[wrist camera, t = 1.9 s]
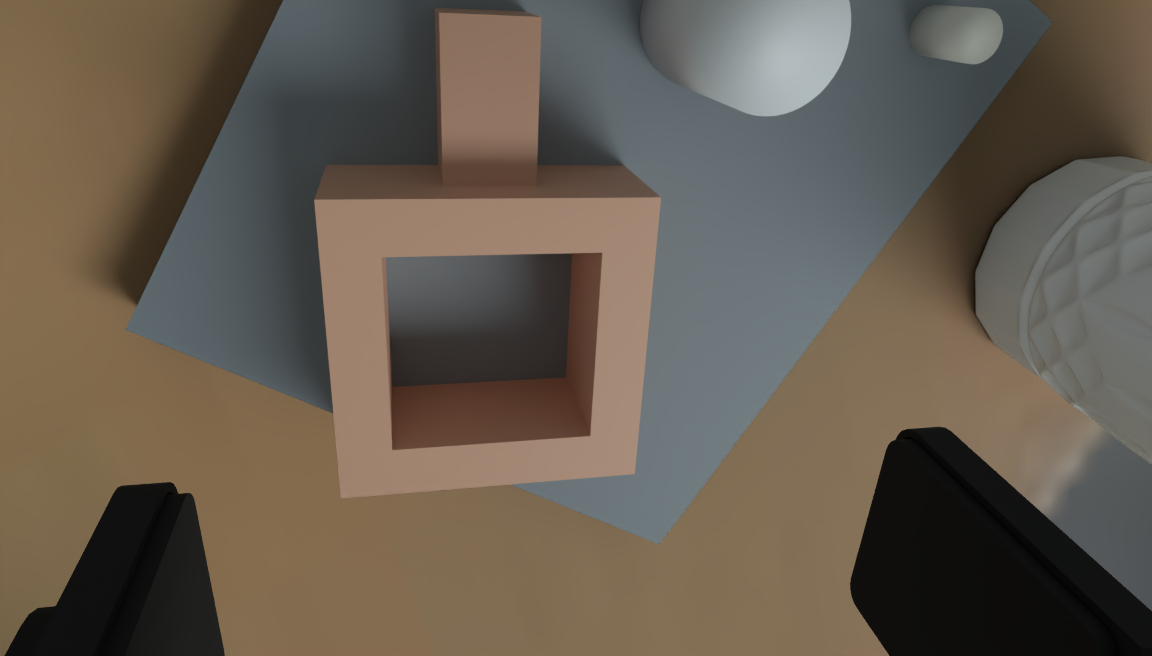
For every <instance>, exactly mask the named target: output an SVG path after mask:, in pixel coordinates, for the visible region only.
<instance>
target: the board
mask: <svg viewBox="0 0 1152 656" xmlns="http://www.w3.org/2000/svg"><path fill="white" fill-rule="evenodd" d="M434 8H451V9H475V10H498V11H521V12H529V13H531V14H534V15H537V16H540V17H541V49H540V84H539V119H538V154H537V165H624V166H626V167H627V168H628V169H629V170H630V171H631V172H632V173H634V174H635V175H636V176H637V177H638V178H639V179H640V180H642V181H643V182H644V183H645V184H646V185H647V186H649V187H650V188H651V189H652V190H653V191H654V192H655V193H657V194H658V195H659V196H660V197H661V204H660V215H659V225H658V236H657V246H656V257H655V267H654V278H653V288H652V299H651V309H650V320H649V330H648V341H647V351H646V362H645V372H644V383H643V393H642V404H641V414H640V425H639V435H638V446H637V456H636V467H635V474H630V475H618V476H606V477H594V478H582V479H570V480H558V481H545V482H533V483H521V484H510V485H513V486H515V487H518V488H520V489H523V490H525V491H528V492H530V493H533V494H535V495H538V496H540V497H543V498H545V499H548V500H550V501H553V502H555V503H558V504H560V505H563V506H565V507H568V508H570V509H573V510H575V511H578V512H580V513H583V514H585V515H588V516H590V517H592V518H595V519H597V520H600V521H602V522H605V523H607V524H610V525H612V526H615V527H617V528H620V529H622V530H625V531H627V532H630V533H632V534H635V535H637V536H640V537H642V538H645V539H647V540H650V541H652V542H655V543H657V544H660V543H661V541H662V540H663V539H664V537H665V536H666V535H667V533H668V532H669V531H670V529H671V528H672V527H673V525H674V524H675V523H676V521H677V520H678V519H679V517H680V516H681V515H682V513H683V512H684V511H685V509H686V508H687V507H688V505H689V504H690V503H691V501H692V500H693V499H694V497H695V496H696V495H697V493H698V492H699V491H700V489H701V488H702V487H703V485H704V484H705V483H706V482H707V480H708V479H709V478H710V476H711V475H712V474H713V472H714V471H715V470H716V468H717V467H718V466H719V464H720V463H721V462H722V460H723V459H724V458H725V456H726V455H727V454H728V452H729V451H730V450H731V448H732V447H733V446H734V444H735V443H736V442H737V440H738V439H739V438H740V436H741V435H742V434H743V432H744V431H745V430H746V428H747V427H748V426H749V424H750V423H751V422H752V420H753V419H754V418H755V416H756V415H757V414H758V412H759V411H760V410H761V409H762V407H763V406H764V405H765V403H766V402H767V401H768V399H769V398H770V397H771V395H772V394H773V393H774V391H775V390H776V389H777V387H778V386H779V385H780V383H781V382H782V381H783V379H784V378H785V377H786V375H787V374H788V373H789V371H790V370H791V369H792V367H793V366H794V365H795V363H796V362H797V361H798V359H799V358H800V357H801V355H802V354H803V353H804V351H805V350H806V349H807V347H808V346H809V345H810V343H811V342H812V341H813V339H814V338H815V337H816V336H817V334H818V333H819V332H820V330H821V329H822V328H823V326H824V325H825V324H826V322H827V321H828V320H829V318H830V317H831V316H832V314H833V313H834V312H835V310H836V309H837V308H838V306H839V305H840V304H841V302H842V301H843V300H844V298H845V297H846V296H847V294H848V293H849V292H850V290H851V289H852V288H853V286H854V285H855V284H856V282H857V281H858V280H859V278H860V277H861V276H862V274H863V273H864V272H865V270H866V269H867V268H868V267H869V265H870V264H871V263H872V261H873V260H874V259H875V257H876V256H877V255H878V253H879V252H880V251H881V249H882V248H883V247H884V245H885V244H886V243H887V241H888V240H889V239H890V237H891V236H892V235H893V233H894V232H895V231H896V229H897V228H898V227H899V225H900V224H901V223H902V221H903V220H904V219H905V217H906V216H907V215H908V213H909V212H910V211H911V209H912V208H913V207H914V205H915V204H916V203H917V201H918V200H919V199H920V197H921V196H922V195H923V194H924V192H925V191H926V190H927V188H928V187H929V186H930V184H931V183H932V182H933V180H934V179H935V178H936V176H937V175H938V174H939V172H940V171H941V170H942V168H943V167H944V166H945V164H946V163H947V162H948V160H949V159H950V158H951V156H952V155H953V154H954V152H955V151H956V150H957V148H958V147H959V146H960V144H961V143H962V142H963V140H964V139H965V138H966V136H967V135H968V134H969V132H970V131H971V130H972V128H973V127H974V126H975V124H976V123H977V122H978V121H979V119H980V118H981V117H982V115H983V114H984V113H985V111H986V110H987V109H988V107H989V106H990V105H991V103H992V102H993V101H994V99H995V98H996V97H997V95H998V94H999V93H1000V91H1001V90H1002V89H1003V87H1004V86H1005V85H1006V83H1007V82H1008V81H1009V79H1010V78H1011V77H1012V75H1013V74H1014V73H1015V71H1016V70H1017V69H1018V67H1019V66H1020V65H1021V63H1022V62H1023V61H1024V59H1025V58H1026V57H1027V55H1028V54H1029V53H1030V51H1031V50H1032V49H1033V48H1034V46H1035V45H1036V44H1037V42H1038V41H1039V40H1040V38H1041V37H1042V36H1043V34H1044V33H1045V32H1046V30H1047V29H1048V28H1049V26H1050V25H1051V24H1052V21H1051V20H1050V19H1049V18H1048V17H1047V16H1046V15H1045V14H1044V13H1043V12H1042V11H1041V10H1040V9H1039V8H1038V7H1037V6H1036V5H1035V4H1033V3H1032V2H1031V1H1030V0H283V2H282V4H281V6H280V8H279V10H278V12H277V14H276V16H275V18H274V21H273V23H272V25H271V27H270V29H269V31H268V33H267V35H266V37H265V39H264V41H263V44H262V46H261V48H260V50H259V52H258V54H257V56H256V58H255V60H254V62H253V64H252V67H251V69H250V71H249V73H248V75H247V77H246V79H245V81H244V83H243V85H242V87H241V90H240V92H239V94H238V96H237V98H236V100H235V102H234V104H233V106H232V108H231V110H230V113H229V115H228V117H227V119H226V121H225V123H224V125H223V127H222V129H221V131H220V133H219V136H218V138H217V140H216V142H215V144H214V146H213V148H212V150H211V152H210V154H209V156H208V159H207V161H206V163H205V165H204V167H203V169H202V171H201V173H200V175H199V177H198V179H197V182H196V184H195V186H194V188H193V190H192V192H191V194H190V196H189V198H188V200H187V202H186V205H185V207H184V209H183V211H182V213H181V215H180V217H179V219H178V221H177V223H176V225H175V228H174V230H173V232H172V234H171V236H170V238H169V240H168V242H167V244H166V246H165V248H164V251H163V253H162V255H161V257H160V259H159V261H158V263H157V265H156V267H155V269H154V271H153V274H152V276H151V278H150V280H149V282H148V284H147V286H146V288H145V290H144V292H143V294H142V297H141V299H140V301H139V303H138V305H137V307H136V309H135V311H134V313H133V315H132V318H131V320H130V322H129V324H128V326H127V328H126V330H128V331H130V332H132V333H135V334H137V335H140V336H142V337H145V338H147V339H150V340H152V341H155V342H157V343H160V344H162V345H165V346H167V347H170V348H172V349H175V350H177V351H180V352H182V353H185V354H187V355H190V356H192V357H195V358H197V359H200V360H202V361H205V362H207V363H210V364H212V365H215V366H217V367H220V368H222V369H224V370H227V371H229V372H232V373H234V374H237V375H239V376H242V377H244V378H247V379H249V380H252V381H254V382H257V383H259V384H262V385H264V386H267V387H269V388H272V389H274V390H277V391H279V392H282V393H284V394H287V395H289V396H292V397H294V398H297V399H299V400H302V401H304V402H307V403H309V404H312V405H314V406H316V407H319V408H321V409H324V410H326V411H329V412H331V413H333V403H332V392H331V381H330V370H329V359H328V348H327V337H326V325H325V314H324V303H323V292H322V281H321V270H320V259H319V248H318V236H317V225H316V214H315V203H314V199H315V196H316V193H317V190H318V187H319V184H320V181H321V179H322V176H323V173H324V170H325V167H326V165H438V139H437V96H436V53H435V10H434ZM571 264H572V253H562V254H515V255H469V256H422V257H386V272H387V291H388V310H389V328H390V347H391V366H392V384H393V387H400V386H418V385H436V384H455V383H473V382H491V381H509V380H528V379H546V378H564V377H566V366H567V345H568V325H569V305H570V284H571Z"/></svg>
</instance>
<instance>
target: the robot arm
mask: <svg viewBox="0 0 1152 656" xmlns="http://www.w3.org/2000/svg"><path fill="white" fill-rule="evenodd" d="M850 590H851V595H852V598H853V601H854V603H855V605H856V607H857V609H858V610H859V612H860V613H861V615H862V616H863V618H864V619H865V620H866V622H867V623H868V625H869V626H870V628H871V629H872V631H873V632H874V634H875V635H876V637H877V638H878V640H879V641H880V642H881V644H882V645H883V647H884V648H885V650H886V651H887V653H888V654H889V656H1152V611H1151V610H1150V609H1149V608H1147V607H1146V606H1145V605H1144V604H1143V603H1142V602H1141V601H1139V600H1138V599H1137V598H1136V597H1135V596H1134V595H1133V594H1132V593H1131V592H1130V591H1128V590H1127V589H1126V588H1125V587H1124V586H1123V585H1122V584H1121V583H1120V582H1118V581H1117V580H1116V579H1115V578H1114V577H1113V576H1112V575H1110V574H1109V573H1108V572H1107V571H1106V570H1105V569H1104V568H1103V567H1102V566H1101V565H1099V564H1098V563H1097V562H1096V561H1095V560H1094V559H1093V558H1091V556H1089V555H1088V554H1087V553H1086V552H1085V551H1084V550H1083V549H1082V548H1080V547H1079V546H1078V545H1077V544H1076V543H1075V542H1074V541H1073V540H1072V539H1070V538H1069V537H1068V536H1067V535H1066V534H1065V533H1064V532H1063V531H1062V530H1060V529H1059V528H1058V527H1057V526H1056V525H1055V524H1054V523H1053V522H1051V521H1050V520H1049V519H1048V518H1047V517H1046V516H1045V515H1044V514H1043V513H1041V512H1040V511H1039V510H1038V509H1037V508H1036V507H1035V506H1034V505H1033V504H1031V503H1030V502H1029V501H1028V500H1027V499H1026V498H1025V497H1024V496H1022V495H1021V494H1020V493H1019V492H1018V491H1017V490H1016V489H1015V488H1014V487H1012V486H1011V485H1010V484H1009V483H1008V482H1007V481H1006V480H1005V479H1003V478H1002V477H1001V476H1000V475H999V474H998V473H997V472H996V471H995V470H993V469H992V468H991V467H990V466H989V465H988V464H987V463H986V462H985V461H983V460H982V459H981V458H980V457H979V456H978V455H977V454H976V453H974V452H973V451H972V450H971V449H970V448H969V447H968V446H967V445H966V444H964V443H963V442H962V441H961V440H960V439H959V438H958V437H957V436H956V435H954V434H953V433H952V432H951V431H949V430H948V429H946V428H943V427H930V428H916V429H906V430H903V431H901V432H900V433H899V434H898V436H897V438H896V440H894V441H891V443H890V444H889V445H888V447H887V449H886V453H885V456H884V460H883V464H882V467H881V471H880V475H879V478H878V482H877V485H876V489H875V493H874V496H873V500H872V504H871V507H870V511H869V515H868V518H867V522H866V526H865V529H864V533H863V537H862V540H861V544H860V547H859V551H858V555H857V558H856V562H855V566H854V569H853V573H852V577H851V582H850ZM5 656H225V655H224V648H223V643H222V638H221V633H220V628H219V623H218V617H217V612H216V607H215V602H214V597H213V592H212V587H211V582H210V577H209V572H208V566H207V561H206V556H205V551H204V546H203V541H202V536H201V531H200V526H199V521H198V516H197V510H196V505H195V501H194V498H193V496H192V494H190V493H183V494H178V492H177V489H176V487H175V485H174V484H173V483H171V482H167V483H153V484H140V485H126V486H120V487H118V488H117V489H116V491H115V492H114V494H113V496H112V497H111V499H110V501H109V503H108V505H107V507H106V509H105V511H104V513H103V515H102V517H101V519H100V521H99V523H98V525H97V527H96V529H95V531H94V533H93V535H92V537H91V538H90V540H89V542H88V544H87V546H86V548H85V550H84V552H83V554H82V556H81V558H80V560H79V562H78V564H77V566H76V568H75V570H74V572H73V574H72V576H71V578H70V579H69V581H68V583H67V585H66V587H65V589H64V591H63V593H62V595H61V597H60V599H59V601H58V603H57V605H56V606H54V607H44V608H37V609H36V610H35V611H33V612H32V613H30V614H29V615H28V617H27V618H26V620H25V621H24V622H23V624H22V625H21V627H20V629H19V630H18V632H17V634H16V636H15V638H14V640H13V641H12V643H11V645H10V647H9V649H8V650H7V652H6V654H5Z"/></svg>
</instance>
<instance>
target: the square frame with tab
mask: <svg viewBox="0 0 1152 656" xmlns="http://www.w3.org/2000/svg"><path fill="white" fill-rule="evenodd" d="M434 10H435V53H436V96H437V139H438V165H326V167H325V170H324V173H323V176H322V179H321V181H320V184H319V187H318V190H317V193H316V196H315V199H314V203H315V214H316V225H317V236H318V248H319V259H320V270H321V281H322V292H323V303H324V314H325V325H326V337H327V348H328V359H329V370H330V381H331V392H332V403H333V414H334V425H335V437H336V448H337V459H338V470H339V481H340V492H341V498H351V497H364V496H376V495H388V494H400V493H412V492H424V491H436V490H448V489H461V488H473V487H485V486H497V485H509V484H521V483H533V482H545V481H558V480H570V479H582V478H594V477H606V476H618V475H630V474H635V467H636V456H637V446H638V435H639V425H640V414H641V404H642V393H643V383H644V372H645V362H646V351H647V341H648V330H649V320H650V309H651V299H652V288H653V278H654V267H655V257H656V246H657V236H658V225H659V215H660V204H661V197H660V196H659V195H658V194H657V193H655V192H654V191H653V190H652V189H651V188H650V187H649V186H647V185H646V184H645V183H644V182H643V181H642V180H640V179H639V178H638V177H637V176H636V175H635V174H634V173H632V172H631V171H630V170H629V169H628V168H627V167H626V166H624V165H537V154H538V119H539V84H540V49H541V17H540V16H537V15H534V14H531V13H529V12H521V11H498V10H475V9H451V8H434ZM562 253H572V264H571V284H570V305H569V325H568V345H567V366H566V377H564V378H546V379H528V380H509V381H491V382H473V383H455V384H436V385H418V386H400V387H393V384H392V366H391V347H390V328H389V310H388V291H387V272H386V257H422V256H469V255H515V254H562Z"/></svg>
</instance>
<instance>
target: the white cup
mask: <svg viewBox="0 0 1152 656" xmlns="http://www.w3.org/2000/svg"><path fill="white" fill-rule="evenodd" d="M975 304H976V316H977V318H978V319H979V321H980V322H981V324H982V326H983V327H984V329H985V330H986V332H987V334H988V335H989V337H990V338H991V340H992V342H993V343H994V345H995V346H996V347H997V348H999V349H1000V350H1001V351H1003V352H1004V353H1006V354H1007V355H1009V356H1010V357H1011V358H1013V359H1014V360H1016V361H1017V362H1019V363H1020V364H1021V365H1023V366H1024V367H1026V368H1027V369H1029V370H1030V371H1031V372H1033V373H1034V374H1036V375H1037V376H1039V377H1040V378H1042V379H1043V380H1044V381H1045V382H1046V383H1047V384H1048V385H1049V386H1051V387H1052V388H1053V389H1054V390H1055V391H1056V392H1057V393H1058V394H1059V395H1060V396H1061V397H1063V398H1064V399H1065V400H1066V401H1067V402H1068V403H1070V404H1071V405H1072V406H1074V407H1075V408H1077V409H1078V410H1079V411H1081V412H1082V413H1084V414H1085V415H1087V416H1088V417H1090V418H1091V419H1093V420H1094V421H1095V422H1097V423H1098V424H1099V425H1100V426H1101V427H1102V428H1104V429H1105V430H1106V431H1107V432H1108V433H1110V434H1111V435H1112V436H1113V437H1115V438H1116V439H1117V440H1119V441H1120V442H1121V443H1123V444H1124V445H1126V446H1127V447H1129V448H1130V449H1131V450H1132V451H1134V452H1135V453H1137V454H1138V455H1140V456H1141V457H1142V458H1144V459H1145V460H1146V461H1148V462H1149V463H1151V464H1152V162H1148V161H1143V160H1139V159H1134V158H1129V157H1124V156H1115V157H1103V158H1091V159H1078V160H1074V161H1072V162H1071V163H1069V164H1067V165H1065V166H1063V167H1062V168H1060V169H1058V170H1056V171H1054V172H1053V173H1051V174H1049V175H1047V176H1045V177H1044V178H1042V179H1040V180H1038V181H1036V182H1035V183H1033V184H1031V185H1030V186H1029V187H1028V188H1027V189H1026V190H1025V191H1024V192H1023V194H1022V195H1021V196H1020V197H1019V198H1018V199H1017V200H1016V201H1015V202H1014V204H1013V205H1012V206H1011V207H1010V208H1009V209H1008V210H1007V212H1006V213H1005V214H1004V215H1003V216H1002V217H1001V218H1000V220H999V221H998V222H997V223H996V224H995V226H994V227H993V230H992V232H991V235H990V237H989V239H988V242H987V244H986V247H985V249H984V251H983V254H982V256H981V259H980V261H979V264H978V266H977V268H976V271H975Z"/></svg>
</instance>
